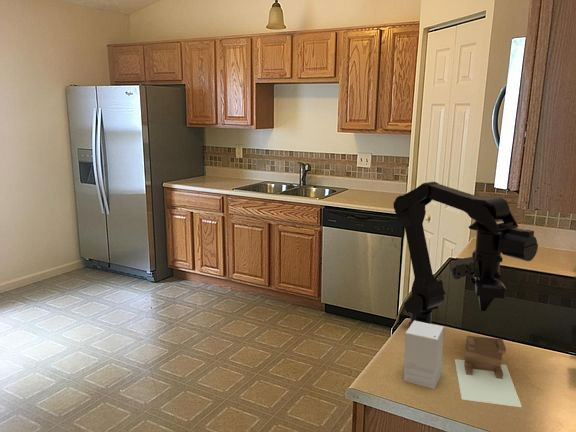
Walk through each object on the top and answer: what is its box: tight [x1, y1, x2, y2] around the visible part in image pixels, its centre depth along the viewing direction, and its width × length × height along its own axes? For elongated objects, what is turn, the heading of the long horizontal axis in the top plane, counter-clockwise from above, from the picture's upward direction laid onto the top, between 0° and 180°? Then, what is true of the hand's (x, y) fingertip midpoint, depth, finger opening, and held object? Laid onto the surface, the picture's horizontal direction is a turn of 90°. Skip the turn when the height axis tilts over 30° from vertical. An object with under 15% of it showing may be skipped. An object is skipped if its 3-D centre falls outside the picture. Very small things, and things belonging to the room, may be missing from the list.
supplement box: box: [403, 320, 445, 390], centre depth 108 cm, size 7×7×13 cm
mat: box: [454, 358, 522, 408], centre depth 108 cm, size 17×12×1 cm
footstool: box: [464, 335, 507, 379], centre depth 111 cm, size 4×8×8 cm, turn 76°
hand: (482, 310), depth 115 cm, fingers closed
